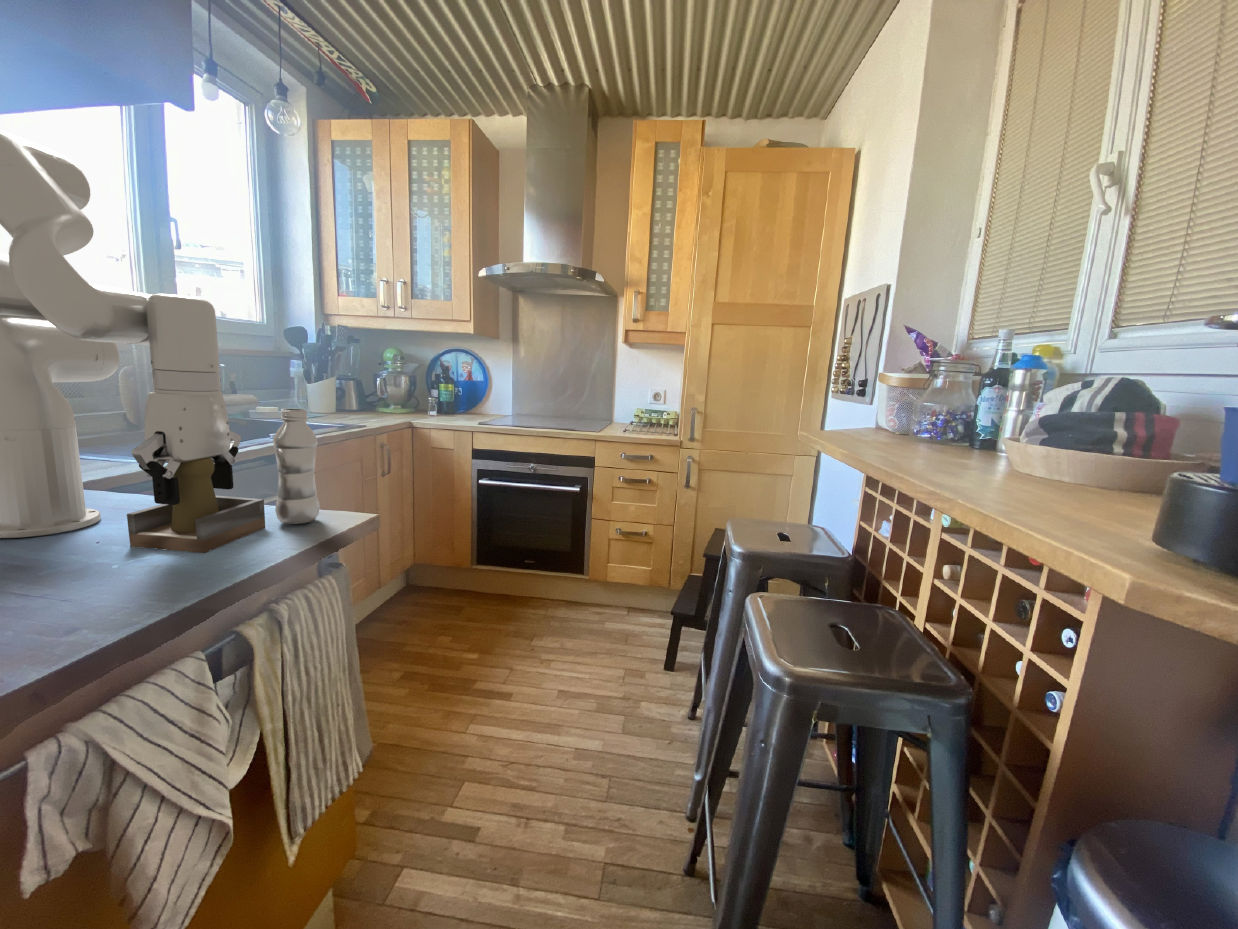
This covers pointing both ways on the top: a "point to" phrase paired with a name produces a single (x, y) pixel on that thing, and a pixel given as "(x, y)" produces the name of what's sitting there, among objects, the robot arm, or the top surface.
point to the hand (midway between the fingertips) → (196, 495)
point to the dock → (197, 526)
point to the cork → (193, 494)
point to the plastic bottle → (296, 468)
